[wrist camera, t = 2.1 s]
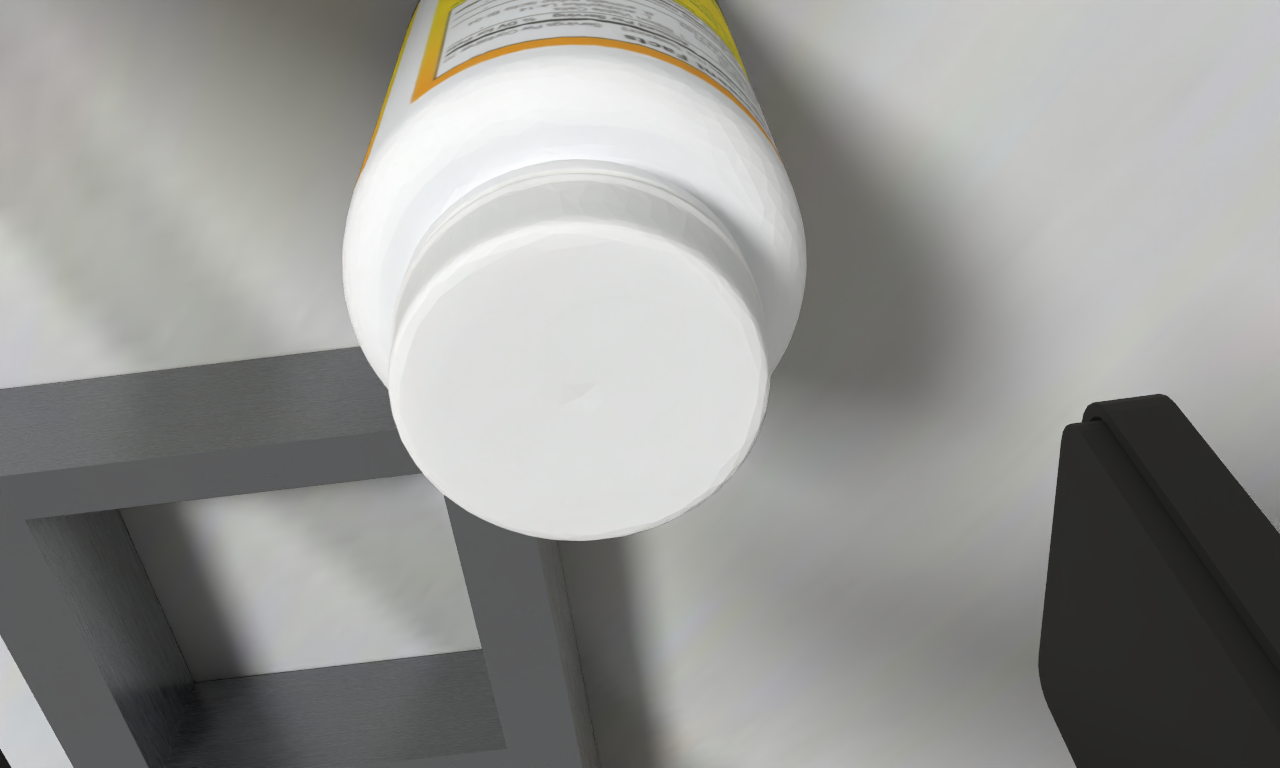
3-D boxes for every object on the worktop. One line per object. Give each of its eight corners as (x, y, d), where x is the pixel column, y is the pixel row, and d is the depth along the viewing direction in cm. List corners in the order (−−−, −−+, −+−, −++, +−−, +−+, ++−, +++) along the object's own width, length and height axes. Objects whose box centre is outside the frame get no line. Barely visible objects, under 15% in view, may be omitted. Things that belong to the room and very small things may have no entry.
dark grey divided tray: (-15, 391, 24) (-83, 486, 21) (517, 328, 24) (511, 415, 21) (245, 926, 34) (220, 1033, 31) (621, 883, 34) (626, 988, 31)
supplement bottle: (568, 270, 23) (574, 672, 15) (339, 62, 21) (185, 399, 12) (797, 71, 21) (957, 400, 13) (573, -182, 19) (584, 14, 10)
